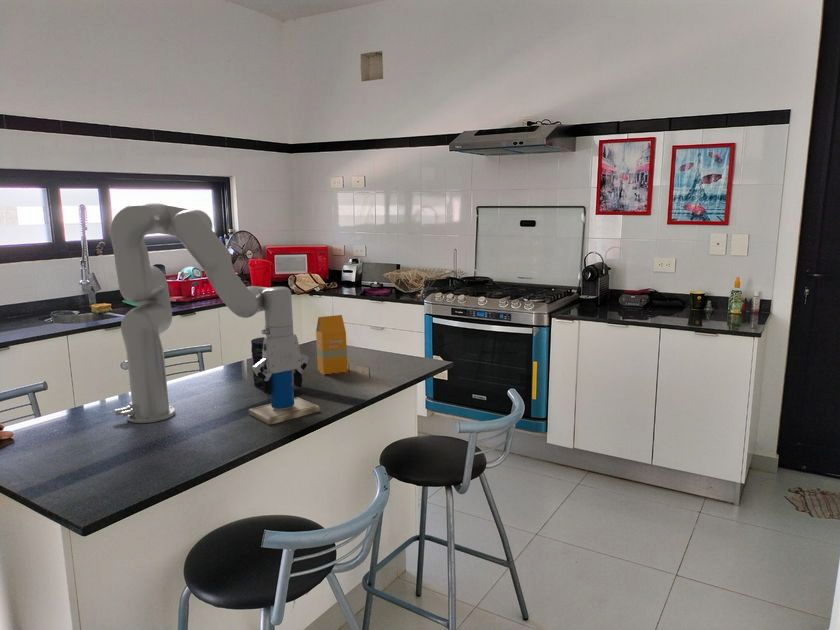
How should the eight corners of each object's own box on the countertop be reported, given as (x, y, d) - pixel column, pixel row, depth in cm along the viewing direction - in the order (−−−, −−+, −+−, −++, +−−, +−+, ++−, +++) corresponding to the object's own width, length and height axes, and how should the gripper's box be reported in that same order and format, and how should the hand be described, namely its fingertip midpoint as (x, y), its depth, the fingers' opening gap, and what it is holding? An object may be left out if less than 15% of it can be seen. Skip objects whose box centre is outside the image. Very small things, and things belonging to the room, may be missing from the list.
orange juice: (317, 370, 224) (314, 315, 220) (341, 367, 228) (338, 313, 224) (323, 375, 217) (321, 319, 213) (347, 372, 221) (345, 316, 217)
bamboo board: (269, 424, 169) (268, 419, 169) (248, 414, 178) (248, 408, 178) (319, 411, 180) (319, 405, 179) (298, 401, 188) (297, 396, 188)
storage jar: (276, 388, 202) (273, 343, 200) (248, 387, 204) (245, 342, 202) (288, 380, 212) (286, 337, 209) (261, 378, 214) (259, 336, 211)
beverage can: (292, 410, 175) (288, 369, 173) (269, 411, 175) (265, 370, 173) (296, 403, 182) (293, 363, 179) (274, 404, 182) (270, 364, 179)
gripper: (257, 338, 166) (261, 399, 169) (313, 328, 177) (316, 386, 180) (244, 333, 172) (248, 393, 175) (299, 325, 183) (302, 381, 186)
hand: (283, 389), depth 178 cm, fingers open, 9 cm apart
